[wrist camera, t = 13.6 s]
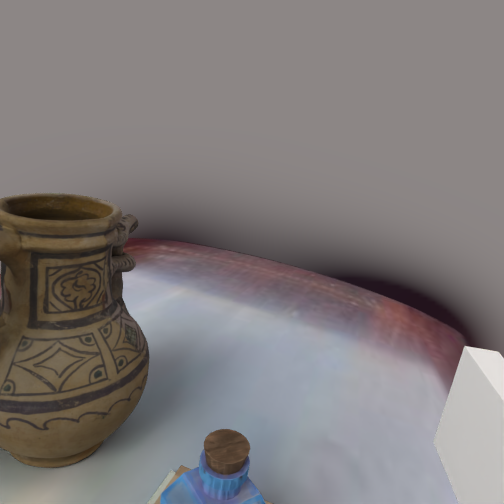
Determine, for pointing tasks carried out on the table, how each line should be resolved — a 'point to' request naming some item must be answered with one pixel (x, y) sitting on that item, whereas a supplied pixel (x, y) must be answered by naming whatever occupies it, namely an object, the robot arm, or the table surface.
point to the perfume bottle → (217, 474)
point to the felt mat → (161, 487)
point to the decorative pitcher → (65, 327)
